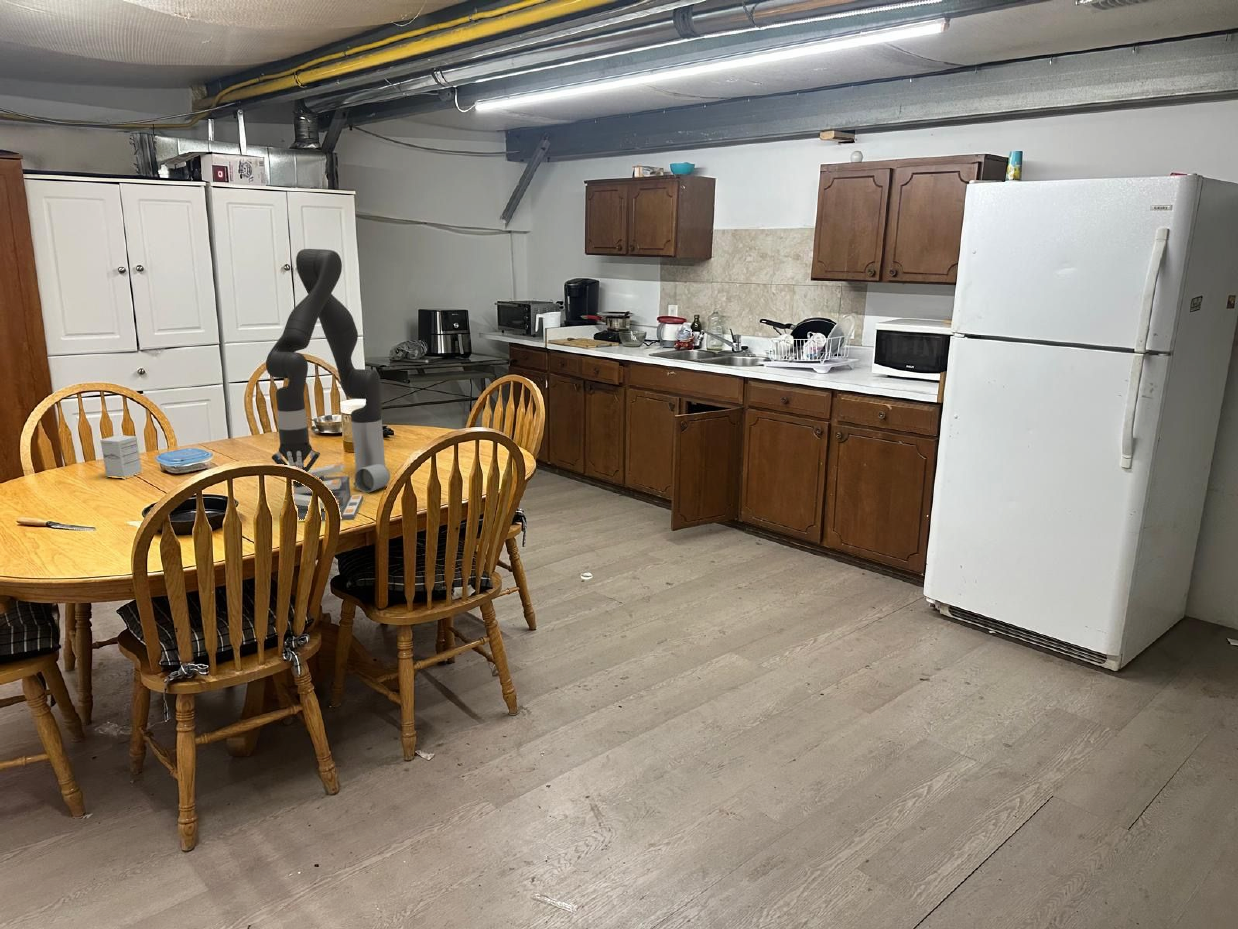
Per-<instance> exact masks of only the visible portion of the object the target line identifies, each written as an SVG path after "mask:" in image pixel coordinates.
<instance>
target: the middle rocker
mask: <svg viewBox="0 0 1238 929" xmlns="http://www.w3.org/2000/svg"><path fill="white" fill-rule="evenodd" d="M322 482H323V483H325V485H326V486H327V487H328V488H329V490H333V489H339V488H340V486H341V485H342V484H341V479H334V480H329V481H322ZM292 490H293V494H301V493H309V492H312V491H311V490H310V489H309V488H308V487H306V486H304V485H302V486H301V487H296V486H295V487H294V486H293V489H292Z"/></svg>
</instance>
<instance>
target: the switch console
mask: <svg viewBox="0 0 1238 929" xmlns="http://www.w3.org/2000/svg"><path fill="white" fill-rule="evenodd" d="M319 479H321V480H322V481H329V480H334V479H341V484H342V485H341V486H340V488H339V489H333V490H331V491H332V493H333V495H334V496H335V498H336V499H337V500H339V502H338V503H339V508H340V512H341V517H342V520H341V521H345V520H346V521H347V520H349V521H350V520H355V518H356V516H357V514H358V513H359V509H360V507H361V505H362V503H363V501H364V494H351V486H350V476H349V475H339V476H338V475H337V476H335V475H334V476H321V477H319ZM294 487H295V485H293V488H294ZM300 495H307V496H312V492H309V493H301V494H300ZM296 506H297V508H298V517H299V520H300V519H301V520H302V519H303V520H304V519H305V516H306V514H307V511H308V506H302V505H296ZM321 517H322V521H321V522H326V521H325V511H324V509H323V508H321Z"/></svg>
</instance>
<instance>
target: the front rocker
mask: <svg viewBox="0 0 1238 929" xmlns="http://www.w3.org/2000/svg"><path fill="white" fill-rule="evenodd" d="M292 495H294V501H295V505H302V506H308V505H309V503H310V500H311V496H307V495H300V494H294V493H292ZM336 501H337V503H338V502H339V500H337V499H336ZM319 503H320V508H323V504H322V502H321V500H320V501H319ZM323 509H324V508H323Z"/></svg>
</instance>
